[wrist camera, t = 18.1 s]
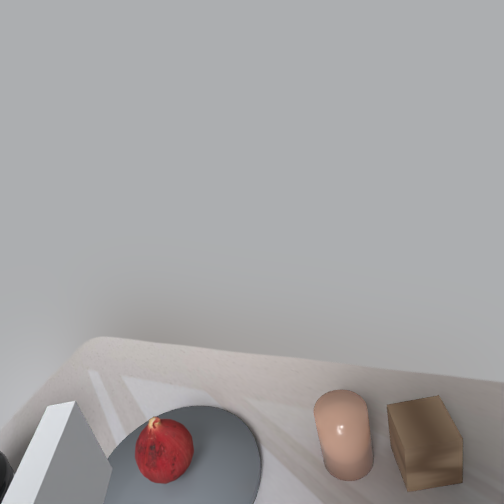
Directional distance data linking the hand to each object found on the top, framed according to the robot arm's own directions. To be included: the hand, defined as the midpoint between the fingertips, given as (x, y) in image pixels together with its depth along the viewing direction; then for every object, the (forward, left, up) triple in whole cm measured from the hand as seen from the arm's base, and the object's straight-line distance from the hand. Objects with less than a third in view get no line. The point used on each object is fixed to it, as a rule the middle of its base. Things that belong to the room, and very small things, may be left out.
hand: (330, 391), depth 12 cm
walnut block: (-9, -20, -32) cm, 39 cm away
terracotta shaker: (-2, -22, -32) cm, 39 cm away
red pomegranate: (+16, -23, -31) cm, 42 cm away
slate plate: (+16, -23, -32) cm, 42 cm away
